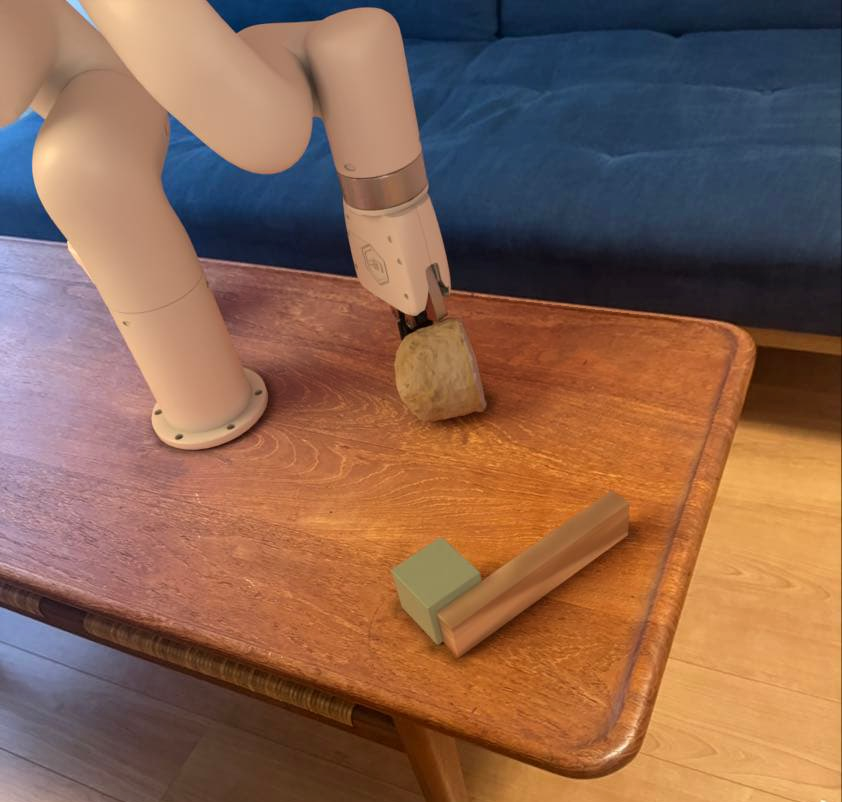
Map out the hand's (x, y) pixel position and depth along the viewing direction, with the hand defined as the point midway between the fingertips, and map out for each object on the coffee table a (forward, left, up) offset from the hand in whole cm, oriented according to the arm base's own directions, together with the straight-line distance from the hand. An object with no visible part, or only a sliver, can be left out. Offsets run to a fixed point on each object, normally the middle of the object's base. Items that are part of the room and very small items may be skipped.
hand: (421, 349), depth 84 cm
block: (+26, -17, -3) cm, 31 cm away
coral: (+6, -2, -3) cm, 7 cm away
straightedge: (+29, -10, -3) cm, 31 cm away
